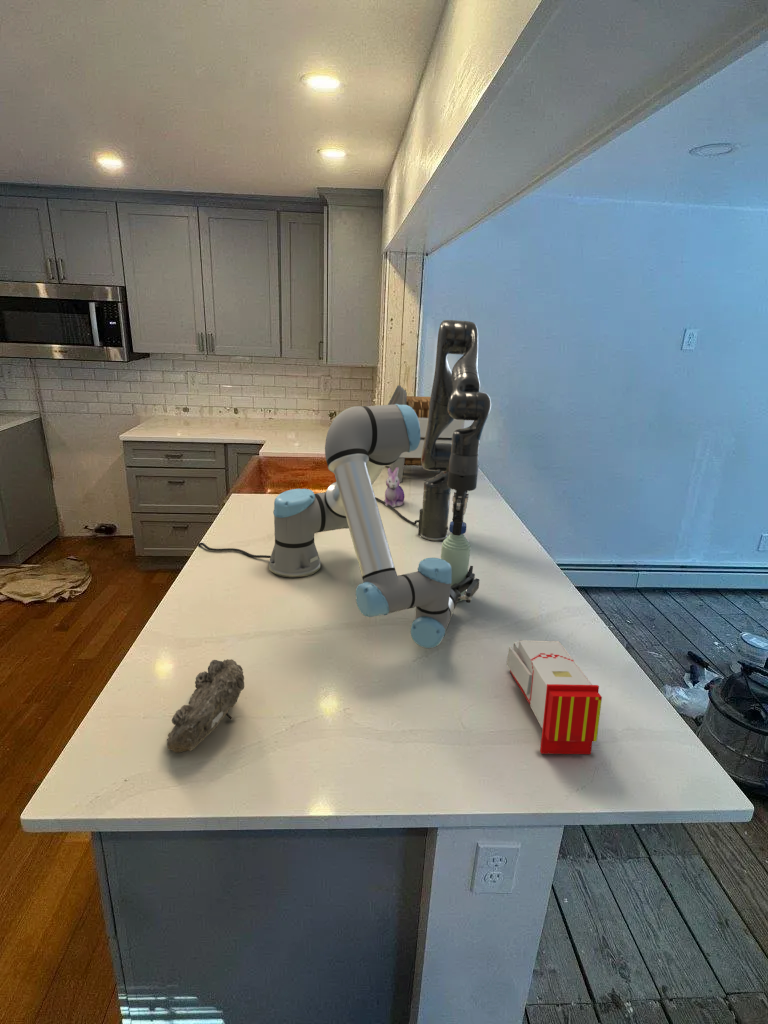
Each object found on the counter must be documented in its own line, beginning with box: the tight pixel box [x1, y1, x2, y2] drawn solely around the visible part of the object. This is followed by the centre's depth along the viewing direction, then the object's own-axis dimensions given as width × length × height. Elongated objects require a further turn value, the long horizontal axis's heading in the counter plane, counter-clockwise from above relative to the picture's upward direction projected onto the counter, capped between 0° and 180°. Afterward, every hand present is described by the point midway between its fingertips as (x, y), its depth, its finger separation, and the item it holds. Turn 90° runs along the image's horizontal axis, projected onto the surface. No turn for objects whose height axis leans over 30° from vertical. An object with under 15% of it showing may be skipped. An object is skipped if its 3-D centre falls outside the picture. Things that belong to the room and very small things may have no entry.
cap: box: [448, 520, 467, 535], centre depth 152 cm, size 4×4×2 cm
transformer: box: [386, 384, 466, 483], centre depth 268 cm, size 34×33×41 cm
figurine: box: [383, 467, 405, 508], centre depth 227 cm, size 9×10×15 cm
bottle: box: [440, 532, 471, 603], centre depth 155 cm, size 8×8×21 cm
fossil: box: [166, 658, 245, 754], centre depth 106 cm, size 22×10×15 cm
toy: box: [506, 640, 603, 755], centre depth 114 cm, size 12×13×30 cm
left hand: (456, 567), depth 161 cm, fingers closed on bottle, 8 cm apart
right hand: (457, 531), depth 152 cm, fingers closed on cap, 4 cm apart
